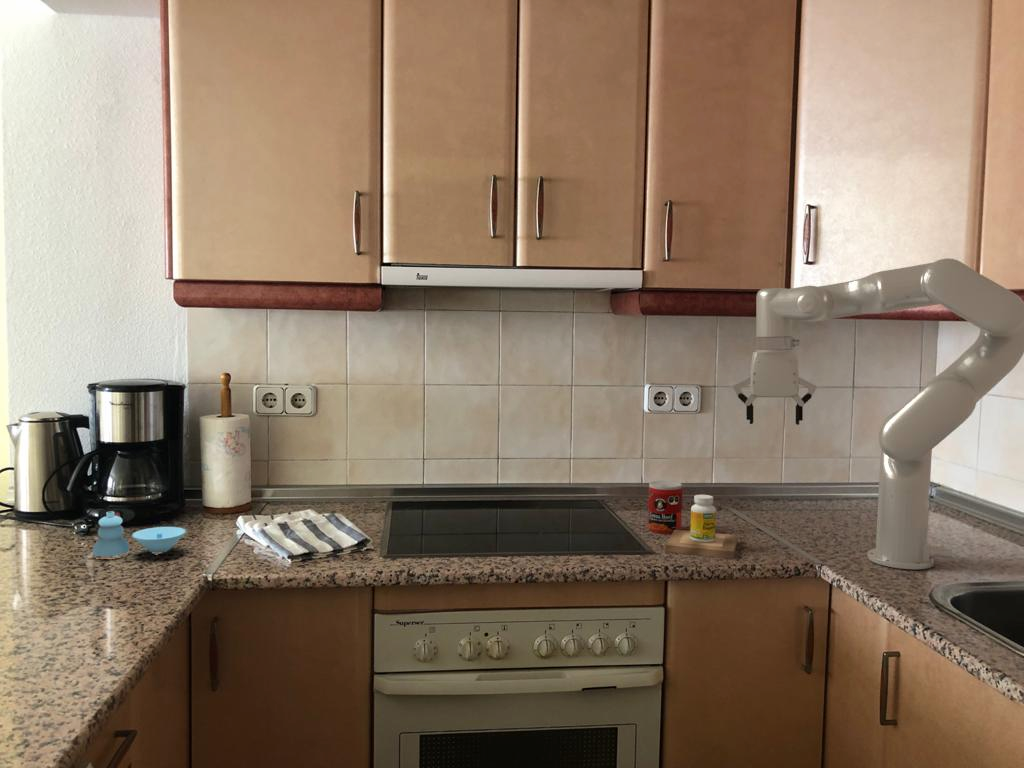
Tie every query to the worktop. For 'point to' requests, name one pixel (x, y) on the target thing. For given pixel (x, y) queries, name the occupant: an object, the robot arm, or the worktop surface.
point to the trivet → (702, 545)
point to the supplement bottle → (703, 519)
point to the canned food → (664, 506)
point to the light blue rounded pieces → (149, 538)
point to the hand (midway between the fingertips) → (774, 423)
